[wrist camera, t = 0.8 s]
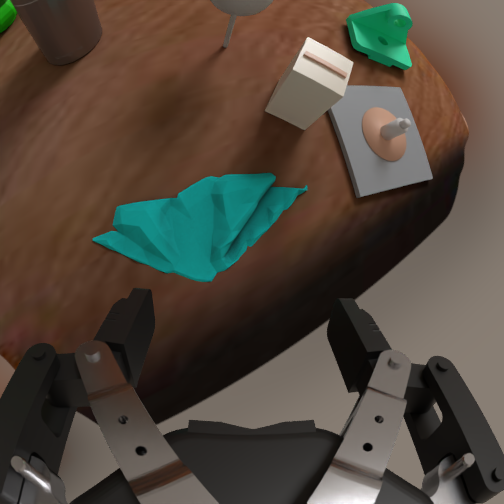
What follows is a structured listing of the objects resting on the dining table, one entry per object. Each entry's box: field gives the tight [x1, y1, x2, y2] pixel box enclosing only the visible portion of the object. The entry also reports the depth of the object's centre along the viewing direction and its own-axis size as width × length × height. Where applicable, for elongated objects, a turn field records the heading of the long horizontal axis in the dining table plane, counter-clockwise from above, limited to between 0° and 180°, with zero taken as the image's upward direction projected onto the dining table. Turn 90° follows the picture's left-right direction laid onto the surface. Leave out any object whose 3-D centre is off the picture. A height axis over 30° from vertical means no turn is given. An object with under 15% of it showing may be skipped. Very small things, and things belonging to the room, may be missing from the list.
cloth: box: [93, 173, 307, 282], centre depth 31 cm, size 26×14×2 cm, turn 92°
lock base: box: [328, 86, 433, 198], centre depth 33 cm, size 16×16×6 cm
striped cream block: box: [265, 37, 353, 130], centre depth 28 cm, size 6×6×10 cm
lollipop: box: [211, 0, 273, 48], centre depth 23 cm, size 7×7×15 cm
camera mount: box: [346, 3, 412, 70], centre depth 32 cm, size 12×8×10 cm, turn 89°
